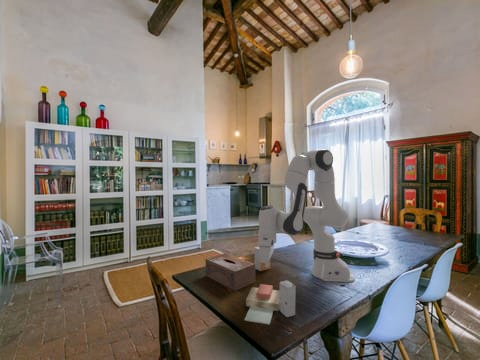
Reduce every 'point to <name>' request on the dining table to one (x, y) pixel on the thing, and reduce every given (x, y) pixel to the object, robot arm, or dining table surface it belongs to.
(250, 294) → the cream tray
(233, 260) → the tissue box cover
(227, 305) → the dining table surface
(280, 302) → the skincare box
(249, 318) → the mat
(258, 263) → the small box
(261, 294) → the pink tray
